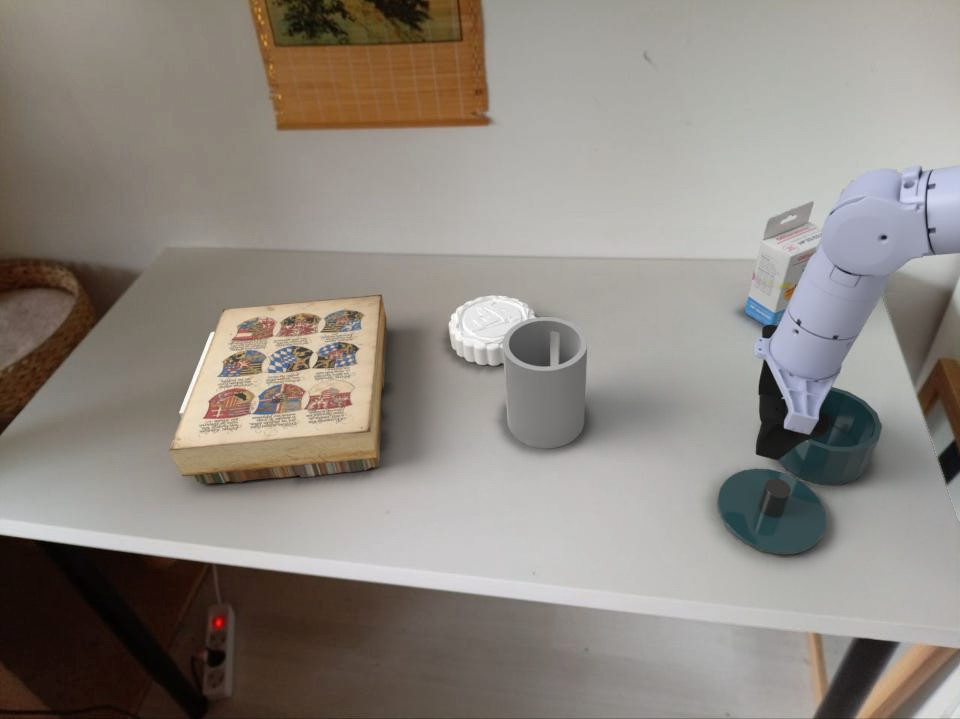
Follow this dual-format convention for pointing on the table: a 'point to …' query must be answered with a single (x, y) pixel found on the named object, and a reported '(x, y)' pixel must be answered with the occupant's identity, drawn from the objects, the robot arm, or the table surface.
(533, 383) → the cup
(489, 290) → the table surface
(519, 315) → the mooncake
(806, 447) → the tin
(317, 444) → the book
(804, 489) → the tin lid
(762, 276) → the ink box
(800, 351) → the robot arm
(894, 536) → the table surface
